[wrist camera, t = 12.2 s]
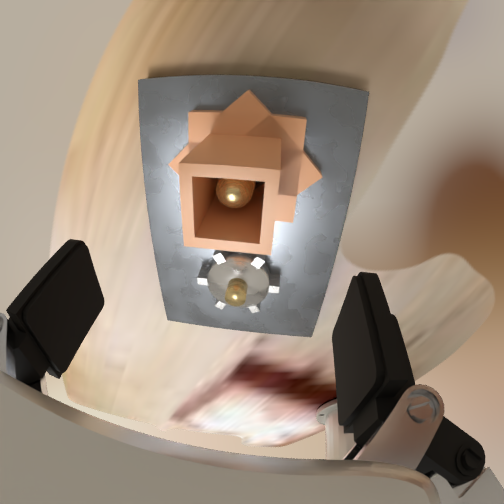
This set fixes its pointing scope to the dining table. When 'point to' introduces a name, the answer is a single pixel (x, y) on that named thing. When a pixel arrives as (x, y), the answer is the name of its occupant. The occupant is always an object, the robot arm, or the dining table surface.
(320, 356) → the dining table surface
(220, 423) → the dining table surface
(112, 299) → the dining table surface
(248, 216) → the hollow square star tube
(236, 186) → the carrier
